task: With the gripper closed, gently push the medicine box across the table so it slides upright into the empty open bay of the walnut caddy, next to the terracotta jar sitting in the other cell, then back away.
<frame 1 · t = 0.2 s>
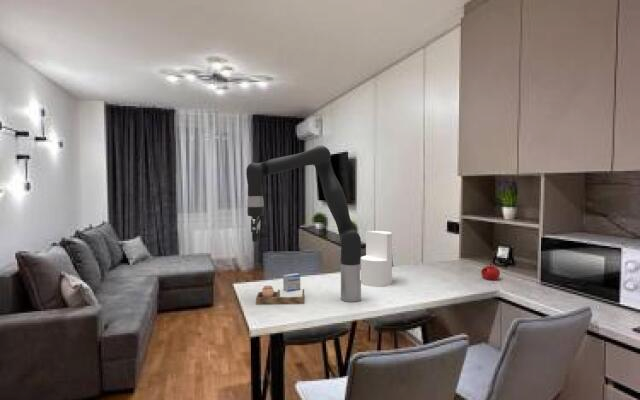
hand: (256, 240, 177), 29 cm above the worktop, fingers open, 8 cm apart
medicine box: (291, 291, 195), on the worktop
white stepped solid: (376, 282, 210), on the worktop
terracotta jar: (267, 301, 176), point 1 cm above the worktop, touching caddy
pomegranate: (490, 279, 217), on the worktop
caddy: (281, 301, 177), on the worktop
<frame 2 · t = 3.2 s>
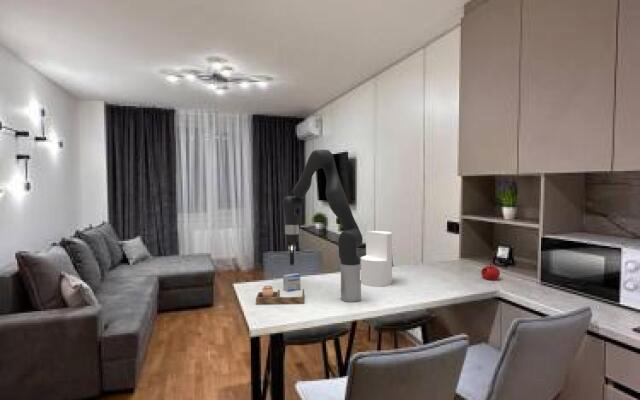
hand: (292, 264, 204), 12 cm above the worktop, fingers closed
nothing on the worktop moved.
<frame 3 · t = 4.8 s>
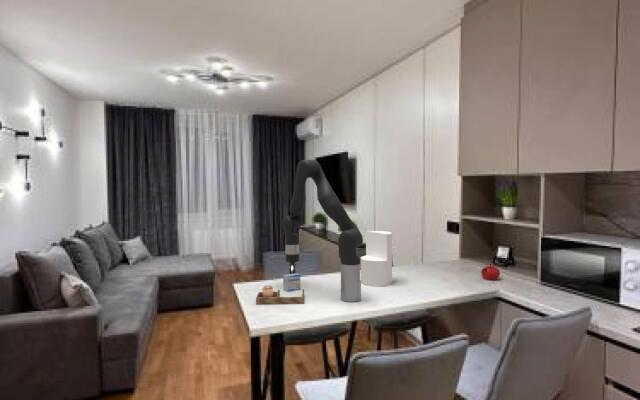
hand: (292, 284, 204), 1 cm above the worktop, fingers closed
nothing on the worktop moved.
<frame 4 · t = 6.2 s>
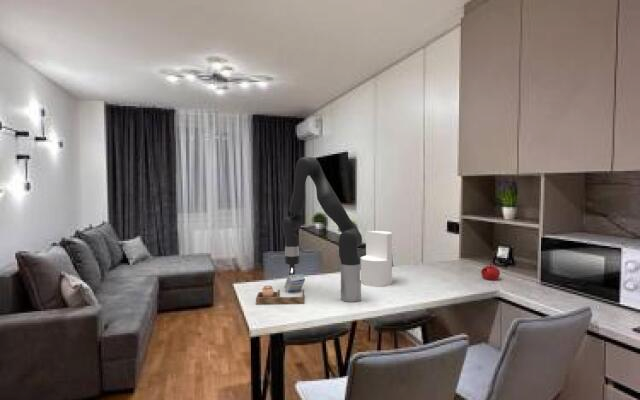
hand: (292, 287, 198), 1 cm above the worktop, fingers closed
medicine box: (292, 288, 194), point 1 cm above the worktop, touching gripper
everything else where it was.
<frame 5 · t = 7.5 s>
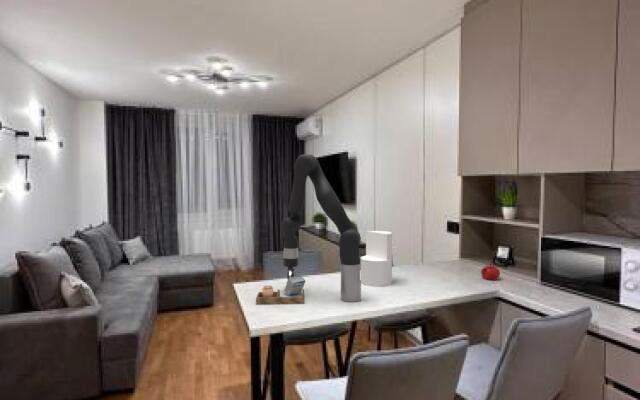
hand: (290, 290, 191), 1 cm above the worktop, fingers closed
medicine box: (292, 292, 188), point 1 cm above the worktop, touching gripper, hand
everything else where it was.
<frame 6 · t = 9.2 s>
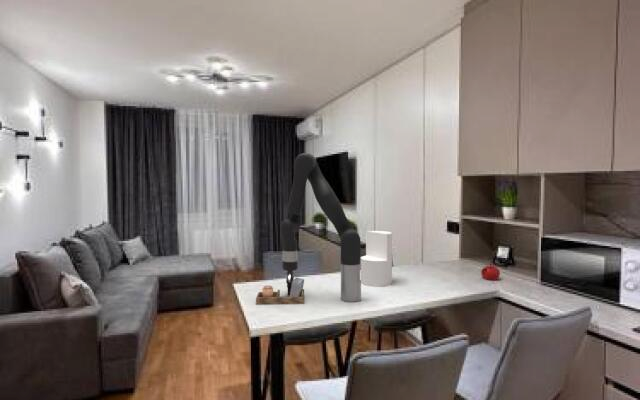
hand: (289, 294, 184), 1 cm above the worktop, fingers closed
medicine box: (295, 297, 182), on the worktop, touching caddy, gripper
everything else where it was.
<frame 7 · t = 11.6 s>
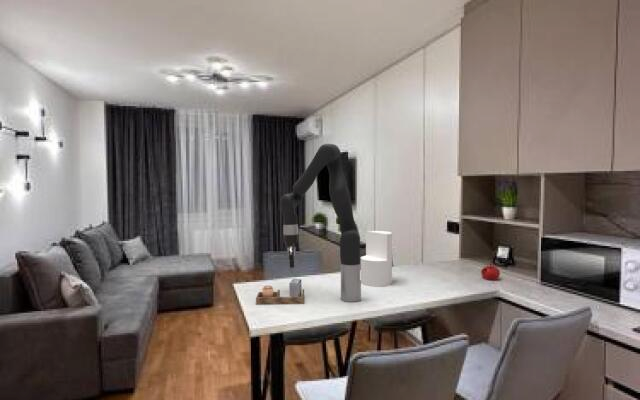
hand: (292, 267, 190), 13 cm above the worktop, fingers closed
medicine box: (295, 298, 182), on the worktop
everything else where it was.
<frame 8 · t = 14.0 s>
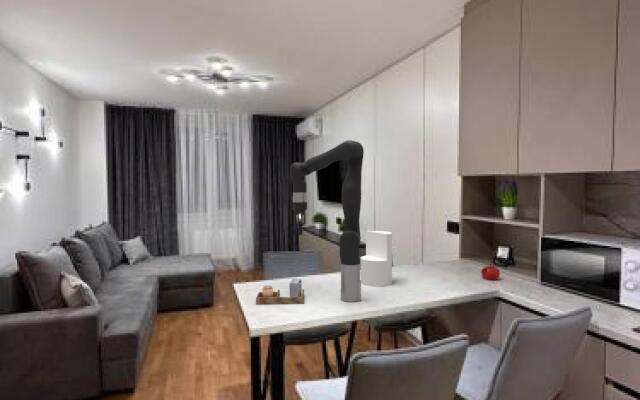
hand: (300, 234, 196), 29 cm above the worktop, fingers closed
nothing on the worktop moved.
at the end: medicine box inside the target area on the caddy (4.3 cm from its centre), point 0.0 cm above the caddy's base; medicine box tilted 0°; medicine box touching worktop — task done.
